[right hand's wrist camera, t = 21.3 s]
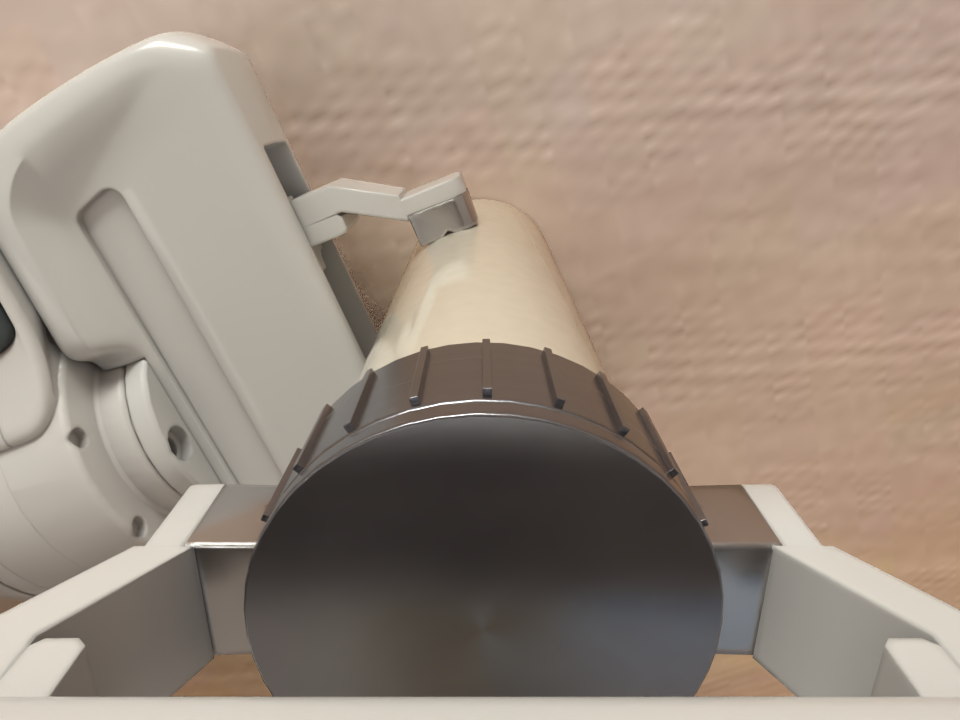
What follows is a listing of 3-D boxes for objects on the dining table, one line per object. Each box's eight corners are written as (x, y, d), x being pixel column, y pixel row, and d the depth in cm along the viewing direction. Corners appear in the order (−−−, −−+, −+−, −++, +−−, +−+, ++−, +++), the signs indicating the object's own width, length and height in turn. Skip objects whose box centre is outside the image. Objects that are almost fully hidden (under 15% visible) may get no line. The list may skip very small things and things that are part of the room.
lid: (554, 254, 9) (578, 305, 7) (740, 570, 11) (806, 690, 9) (207, 464, 10) (132, 564, 8) (429, 717, 12) (418, 855, 10)
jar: (421, 339, 27) (326, 732, 10) (404, 205, 25) (253, 421, 8) (554, 328, 27) (675, 709, 10) (546, 192, 25) (681, 386, 8)
